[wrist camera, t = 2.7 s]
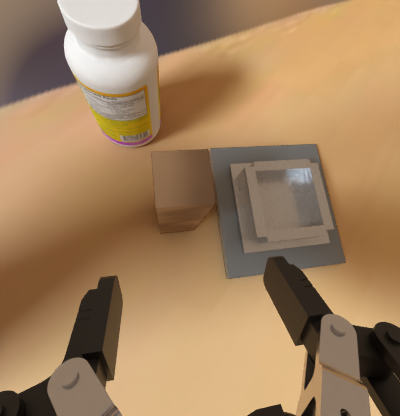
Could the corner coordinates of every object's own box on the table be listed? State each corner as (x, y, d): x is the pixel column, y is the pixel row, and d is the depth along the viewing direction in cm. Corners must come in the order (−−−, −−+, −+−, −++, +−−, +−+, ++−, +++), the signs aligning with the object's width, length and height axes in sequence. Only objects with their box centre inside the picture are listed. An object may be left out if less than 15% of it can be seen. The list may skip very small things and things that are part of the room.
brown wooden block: (160, 233, 24) (155, 208, 13) (157, 200, 24) (151, 151, 14) (194, 230, 24) (215, 203, 14) (190, 198, 25) (208, 149, 14)
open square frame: (242, 253, 23) (251, 252, 21) (228, 166, 25) (235, 155, 23) (326, 243, 25) (344, 241, 22) (306, 162, 27) (321, 151, 24)
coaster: (226, 278, 23) (229, 278, 22) (209, 152, 26) (210, 148, 26) (339, 262, 26) (345, 262, 25) (310, 148, 29) (316, 144, 28)
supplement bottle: (122, 88, 27) (85, -62, 15) (171, 116, 27) (176, -9, 15) (87, 130, 25) (10, 0, 13) (140, 161, 25) (114, 61, 13)
